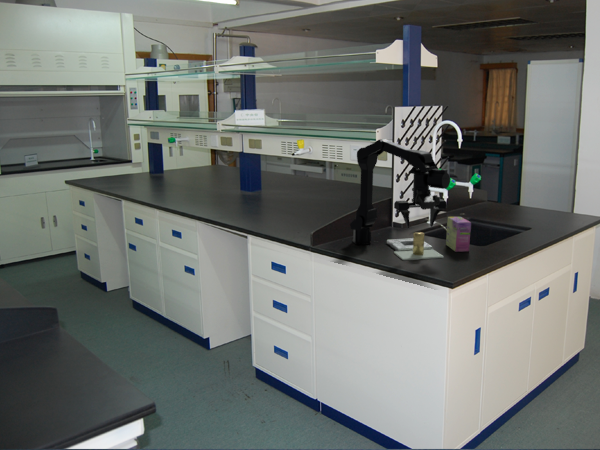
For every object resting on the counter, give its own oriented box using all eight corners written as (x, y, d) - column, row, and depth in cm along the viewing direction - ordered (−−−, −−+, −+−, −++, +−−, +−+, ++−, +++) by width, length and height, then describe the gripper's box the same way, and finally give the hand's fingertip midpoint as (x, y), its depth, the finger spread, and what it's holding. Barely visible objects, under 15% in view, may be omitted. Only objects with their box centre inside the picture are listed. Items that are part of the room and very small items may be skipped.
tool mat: (402, 260, 192) (402, 258, 192) (393, 252, 202) (393, 251, 202) (443, 257, 195) (443, 256, 194) (432, 250, 204) (432, 249, 204)
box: (469, 251, 202) (471, 221, 200) (455, 252, 202) (456, 222, 199) (459, 244, 213) (461, 216, 210) (445, 245, 212) (447, 216, 209)
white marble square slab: (398, 252, 203) (398, 248, 202) (386, 243, 216) (386, 239, 216) (432, 250, 205) (432, 246, 204) (418, 241, 218) (418, 237, 218)
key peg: (415, 255, 196) (415, 235, 194) (411, 252, 200) (411, 232, 198) (425, 254, 196) (425, 234, 195) (421, 252, 200) (421, 231, 198)
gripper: (404, 190, 183) (403, 233, 186) (454, 188, 186) (452, 230, 189) (394, 186, 194) (393, 226, 197) (441, 184, 196) (439, 224, 200)
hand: (419, 227), depth 196 cm, fingers open, 9 cm apart
